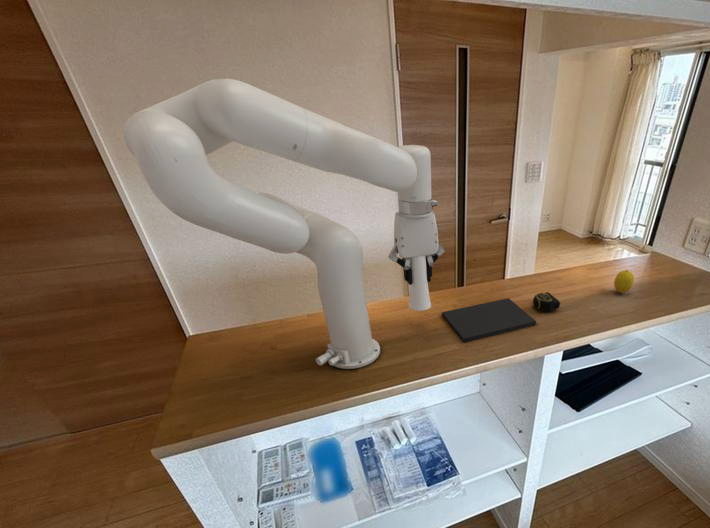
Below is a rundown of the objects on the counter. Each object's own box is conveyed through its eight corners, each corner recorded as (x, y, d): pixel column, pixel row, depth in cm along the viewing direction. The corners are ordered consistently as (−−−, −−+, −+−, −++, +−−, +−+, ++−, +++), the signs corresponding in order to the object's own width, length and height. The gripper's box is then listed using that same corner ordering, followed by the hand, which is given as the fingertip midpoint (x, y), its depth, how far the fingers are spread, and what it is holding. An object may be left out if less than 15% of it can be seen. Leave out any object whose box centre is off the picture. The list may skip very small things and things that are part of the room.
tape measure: (559, 311, 109) (562, 300, 107) (539, 315, 107) (540, 303, 105) (548, 301, 114) (550, 290, 112) (528, 304, 112) (529, 293, 110)
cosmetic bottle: (434, 302, 100) (433, 220, 88) (426, 313, 95) (423, 227, 83) (413, 299, 102) (409, 217, 89) (404, 309, 97) (398, 224, 84)
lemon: (633, 294, 118) (640, 270, 114) (622, 298, 116) (629, 275, 111) (618, 287, 122) (625, 265, 118) (607, 292, 120) (614, 268, 115)
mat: (463, 342, 95) (463, 338, 95) (442, 315, 106) (441, 312, 106) (535, 324, 103) (536, 321, 102) (508, 301, 114) (508, 297, 113)
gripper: (443, 200, 90) (443, 271, 100) (374, 206, 84) (382, 280, 94) (455, 207, 84) (454, 282, 94) (382, 214, 78) (390, 292, 89)
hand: (418, 280), depth 94 cm, fingers closed on cosmetic bottle, 4 cm apart
